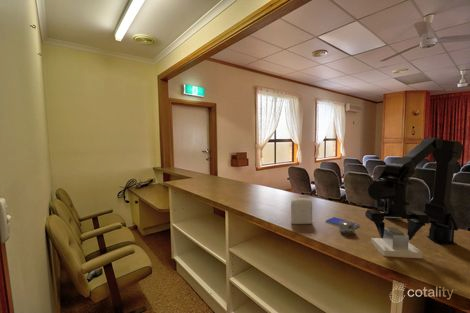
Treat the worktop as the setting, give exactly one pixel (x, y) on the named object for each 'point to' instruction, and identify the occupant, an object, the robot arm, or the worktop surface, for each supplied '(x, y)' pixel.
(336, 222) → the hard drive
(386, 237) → the housing
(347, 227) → the tin
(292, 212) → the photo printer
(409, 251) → the stand
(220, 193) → the worktop surface
